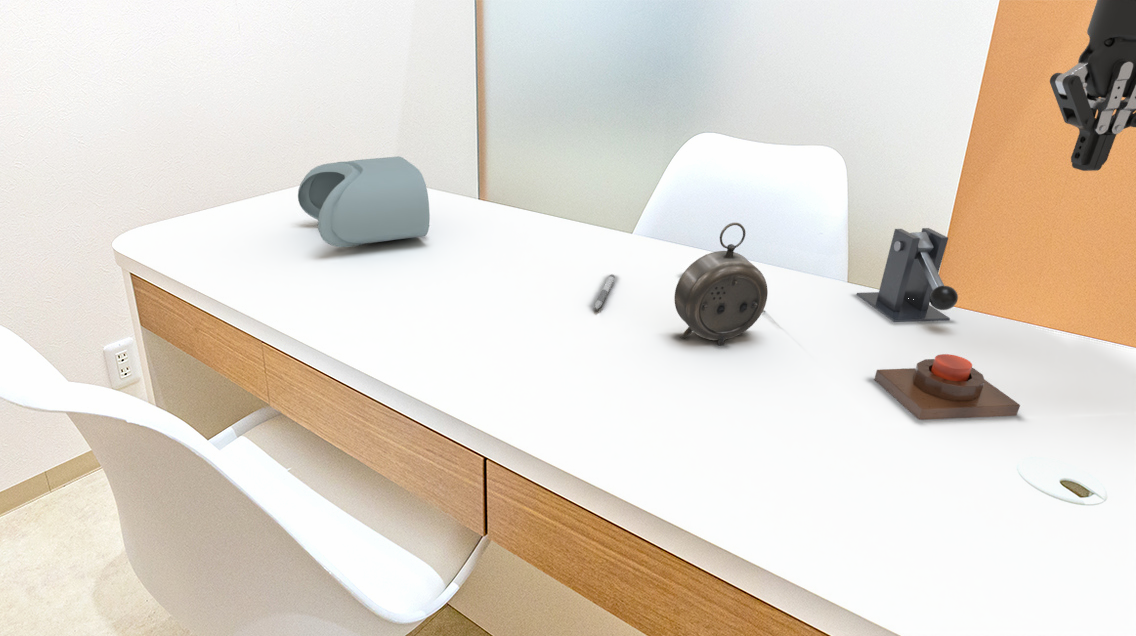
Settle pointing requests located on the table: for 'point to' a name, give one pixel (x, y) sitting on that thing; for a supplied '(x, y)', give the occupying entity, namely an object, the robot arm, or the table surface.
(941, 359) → the button
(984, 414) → the switch block
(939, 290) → the lever
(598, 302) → the pen
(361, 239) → the grey hollow curved shell
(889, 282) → the switch bracket
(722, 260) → the alarm clock
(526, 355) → the table surface
